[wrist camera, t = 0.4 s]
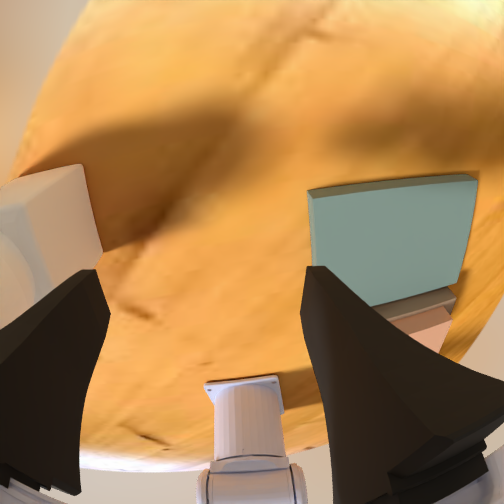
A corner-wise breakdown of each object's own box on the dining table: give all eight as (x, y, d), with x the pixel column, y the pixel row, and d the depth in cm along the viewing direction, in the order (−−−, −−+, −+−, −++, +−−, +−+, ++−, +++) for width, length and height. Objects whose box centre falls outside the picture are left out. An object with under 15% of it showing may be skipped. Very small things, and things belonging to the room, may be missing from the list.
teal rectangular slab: (448, 273, 23) (456, 282, 22) (314, 305, 23) (318, 318, 22) (466, 174, 18) (478, 180, 16) (306, 190, 18) (312, 198, 17)
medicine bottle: (38, 256, 19) (-36, 362, 9) (14, 177, 16) (-94, 263, 5) (105, 253, 20) (34, 386, 9) (84, 161, 16) (-45, 259, 6)
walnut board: (425, 327, 27) (437, 347, 24) (324, 355, 27) (331, 378, 24) (440, 278, 23) (456, 297, 20) (325, 305, 23) (335, 331, 21)
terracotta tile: (427, 348, 24) (434, 361, 22) (346, 372, 24) (351, 387, 23) (443, 305, 21) (452, 319, 19) (352, 331, 21) (359, 348, 20)
